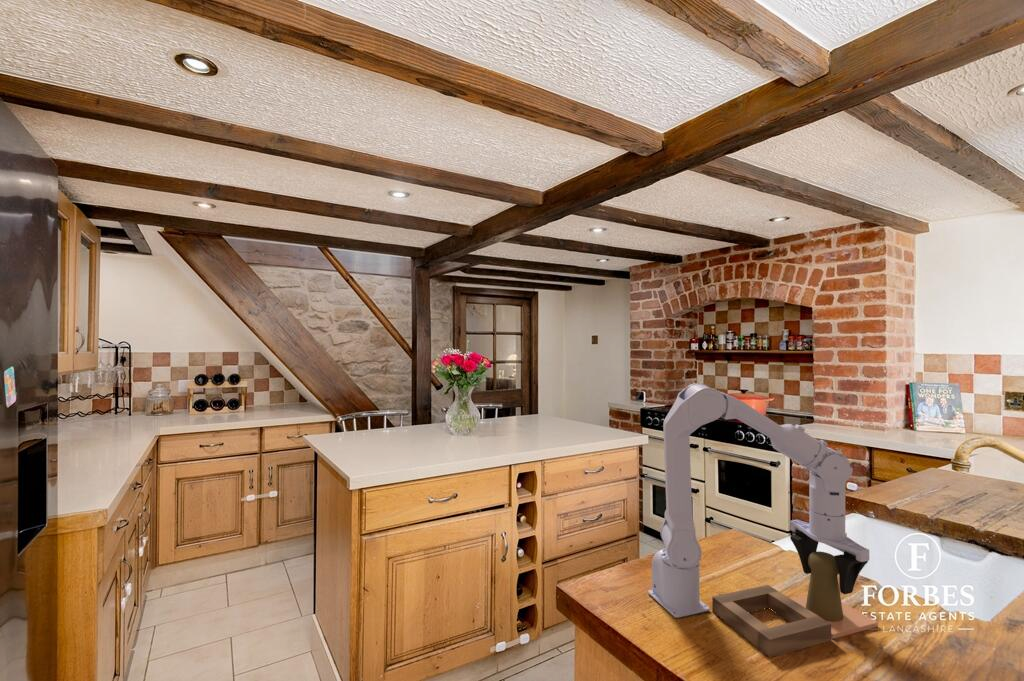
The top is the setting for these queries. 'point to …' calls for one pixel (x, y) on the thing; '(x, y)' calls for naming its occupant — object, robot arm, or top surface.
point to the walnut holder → (774, 640)
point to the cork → (824, 587)
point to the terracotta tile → (845, 620)
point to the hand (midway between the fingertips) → (827, 582)
